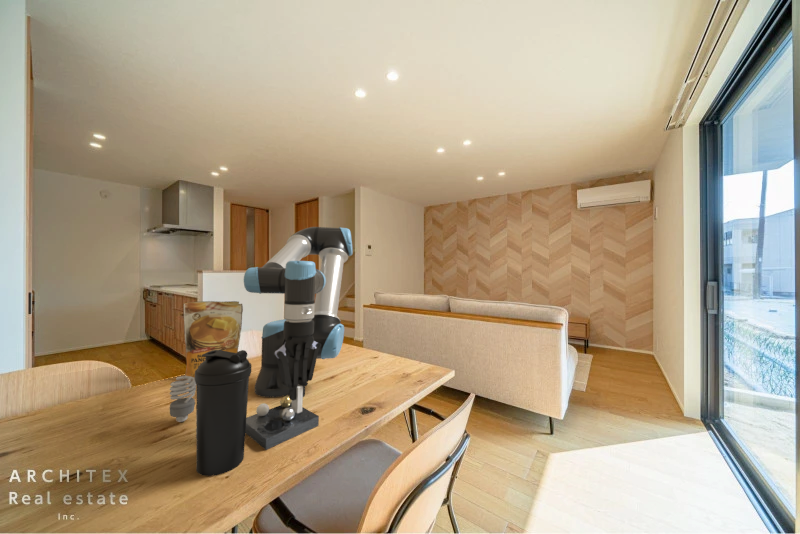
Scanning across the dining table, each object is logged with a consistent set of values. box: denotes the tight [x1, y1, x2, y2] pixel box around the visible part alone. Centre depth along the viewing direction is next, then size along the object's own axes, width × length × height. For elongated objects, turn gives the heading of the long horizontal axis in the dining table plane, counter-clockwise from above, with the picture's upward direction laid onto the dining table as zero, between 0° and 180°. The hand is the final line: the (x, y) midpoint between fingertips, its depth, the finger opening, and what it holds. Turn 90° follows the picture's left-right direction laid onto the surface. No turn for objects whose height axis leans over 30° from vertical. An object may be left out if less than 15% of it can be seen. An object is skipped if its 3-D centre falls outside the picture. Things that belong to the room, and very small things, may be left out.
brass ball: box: [279, 395, 292, 407], centre depth 81 cm, size 3×3×3 cm
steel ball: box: [282, 407, 295, 421], centre depth 74 cm, size 3×3×3 cm
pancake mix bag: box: [182, 300, 244, 381], centre depth 109 cm, size 7×19×28 cm, turn 115°
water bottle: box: [194, 349, 252, 477], centre depth 61 cm, size 10×10×23 cm
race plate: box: [245, 402, 320, 451], centre depth 75 cm, size 13×14×2 cm
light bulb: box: [169, 375, 197, 423], centre depth 76 cm, size 6×6×12 cm
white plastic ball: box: [256, 403, 270, 416], centre depth 76 cm, size 3×3×3 cm
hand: (296, 410), depth 76 cm, fingers closed
